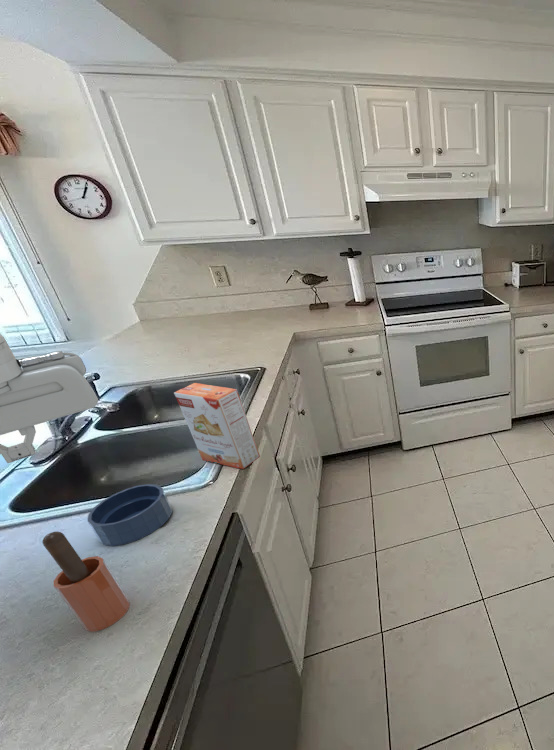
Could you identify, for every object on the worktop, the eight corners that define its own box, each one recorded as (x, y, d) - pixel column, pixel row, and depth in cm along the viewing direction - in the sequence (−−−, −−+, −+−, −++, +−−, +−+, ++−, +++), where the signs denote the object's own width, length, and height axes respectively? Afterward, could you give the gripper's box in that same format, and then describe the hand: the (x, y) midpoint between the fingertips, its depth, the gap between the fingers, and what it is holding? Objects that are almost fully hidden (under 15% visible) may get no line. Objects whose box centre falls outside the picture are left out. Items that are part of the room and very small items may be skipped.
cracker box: (201, 462, 108) (171, 391, 99) (221, 449, 113) (195, 381, 104) (242, 471, 104) (215, 398, 95) (261, 457, 109) (237, 387, 100)
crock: (78, 639, 66) (44, 593, 61) (96, 607, 71) (66, 562, 66) (122, 626, 68) (92, 581, 63) (137, 596, 73) (110, 551, 68)
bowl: (88, 555, 81) (74, 533, 79) (117, 512, 92) (105, 492, 89) (161, 538, 85) (149, 516, 82) (180, 498, 95) (171, 478, 93)
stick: (96, 622, 68) (35, 542, 58) (102, 610, 70) (44, 530, 60) (113, 618, 69) (56, 538, 59) (118, 606, 70) (63, 526, 60)
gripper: (72, 342, 62) (111, 420, 68) (-163, 391, 48) (-89, 484, 54) (78, 352, 59) (119, 433, 64) (-175, 408, 45) (-94, 505, 51)
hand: (22, 457), depth 59 cm, fingers closed
